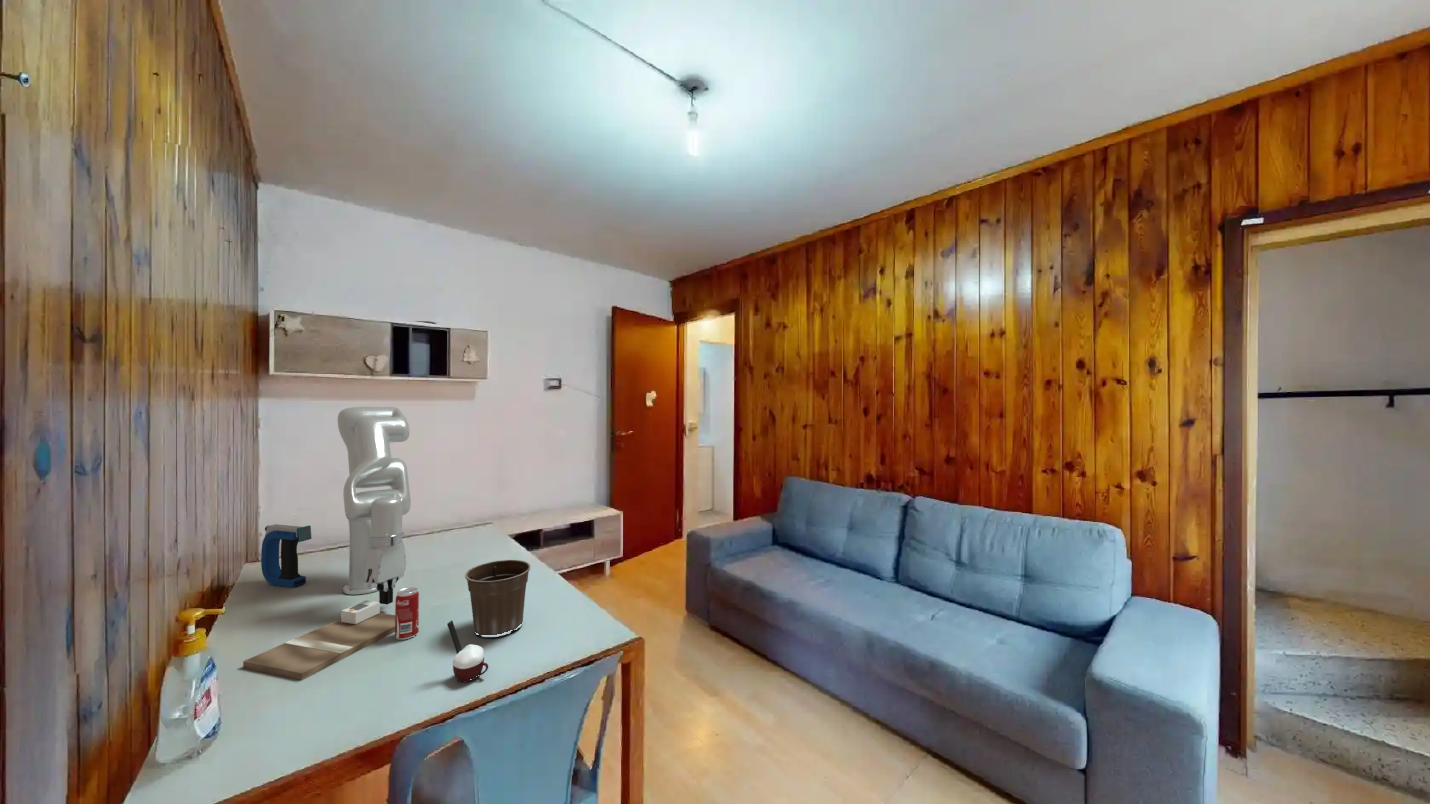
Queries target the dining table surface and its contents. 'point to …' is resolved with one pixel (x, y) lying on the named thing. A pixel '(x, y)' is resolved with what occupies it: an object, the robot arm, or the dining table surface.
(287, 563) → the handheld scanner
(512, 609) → the plant pot
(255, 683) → the dining table surface
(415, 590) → the soda can
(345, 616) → the block
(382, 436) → the robot arm
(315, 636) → the board
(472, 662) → the cocoa
